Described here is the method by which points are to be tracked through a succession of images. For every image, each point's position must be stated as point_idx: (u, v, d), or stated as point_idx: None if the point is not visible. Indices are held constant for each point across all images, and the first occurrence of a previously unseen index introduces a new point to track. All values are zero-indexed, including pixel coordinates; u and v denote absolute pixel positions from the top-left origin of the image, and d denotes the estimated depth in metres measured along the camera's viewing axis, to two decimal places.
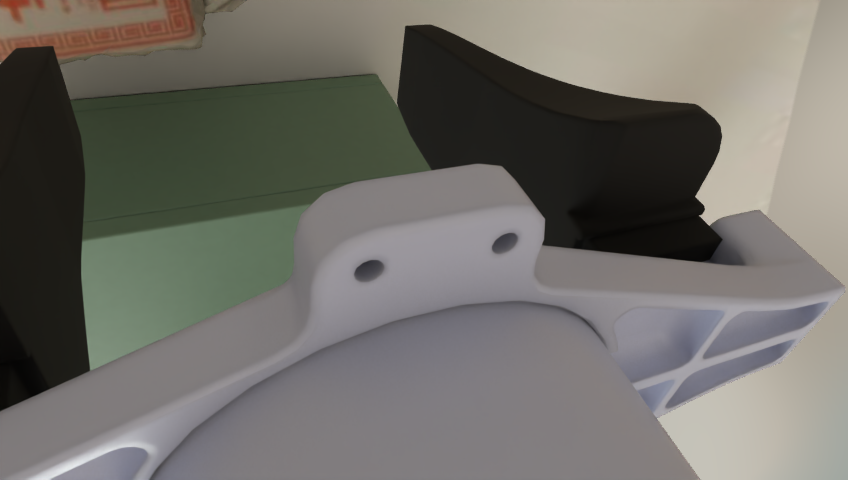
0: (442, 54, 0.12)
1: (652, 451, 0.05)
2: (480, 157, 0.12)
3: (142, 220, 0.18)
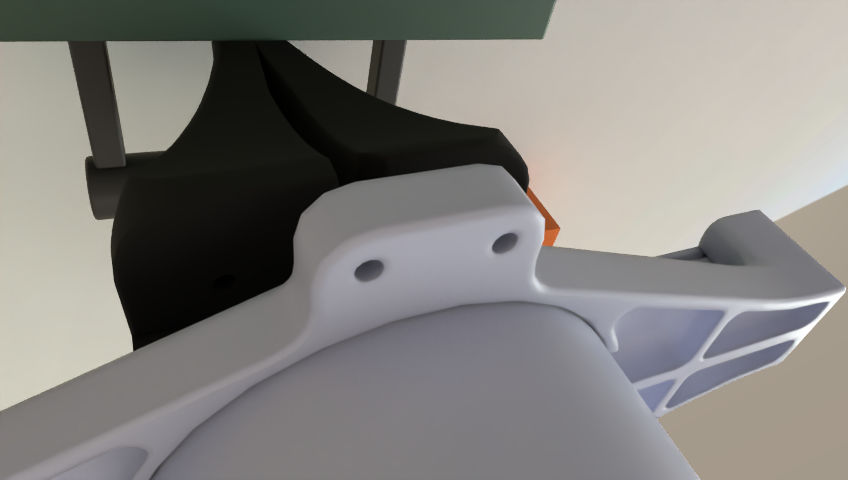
0: (268, 67, 0.11)
1: (652, 451, 0.05)
2: None
3: None
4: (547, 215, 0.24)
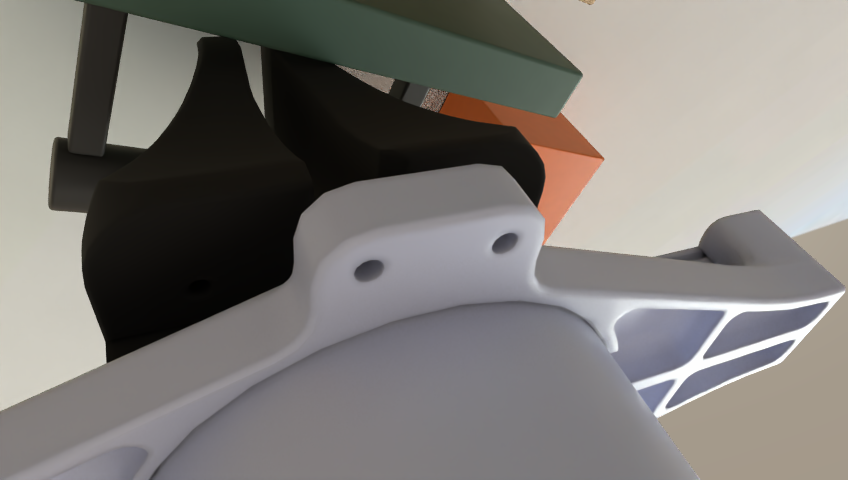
0: (283, 66, 0.11)
1: (652, 451, 0.05)
2: (318, 180, 0.11)
3: None
4: (589, 144, 0.21)
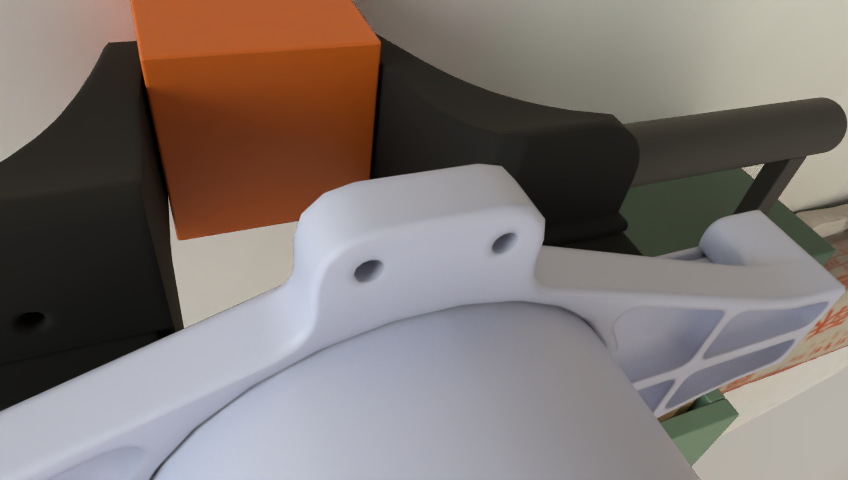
0: None
1: (652, 451, 0.05)
2: (404, 168, 0.11)
3: None
4: None
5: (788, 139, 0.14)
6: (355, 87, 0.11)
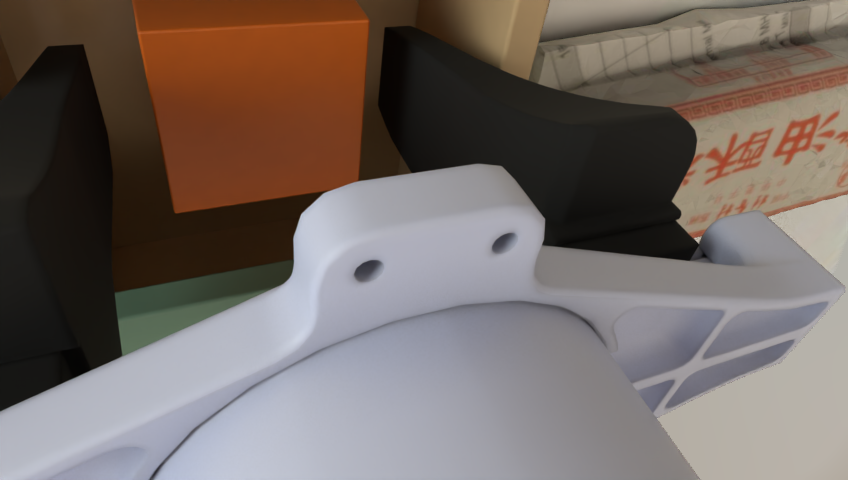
0: (419, 56, 0.12)
1: (652, 451, 0.05)
2: (456, 160, 0.12)
3: None
4: None
5: None
6: (345, 64, 0.12)
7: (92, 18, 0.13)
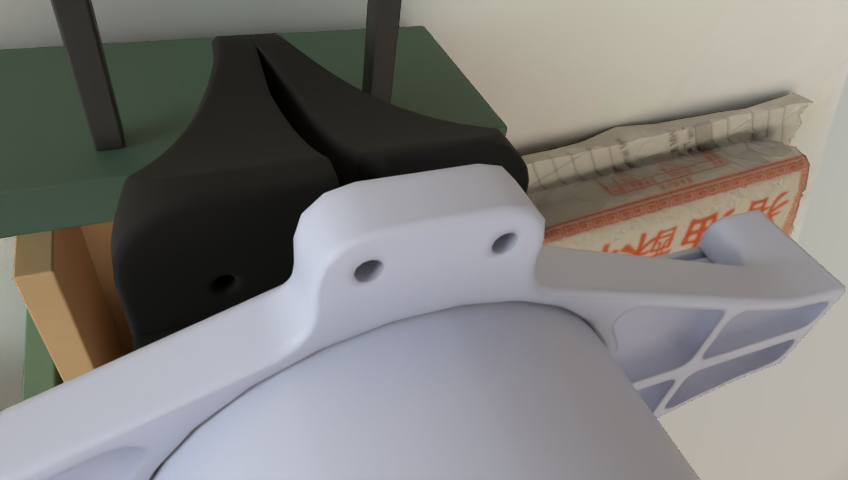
0: (269, 67, 0.11)
1: (652, 451, 0.05)
2: None
3: None
4: None
5: None
6: None
7: None
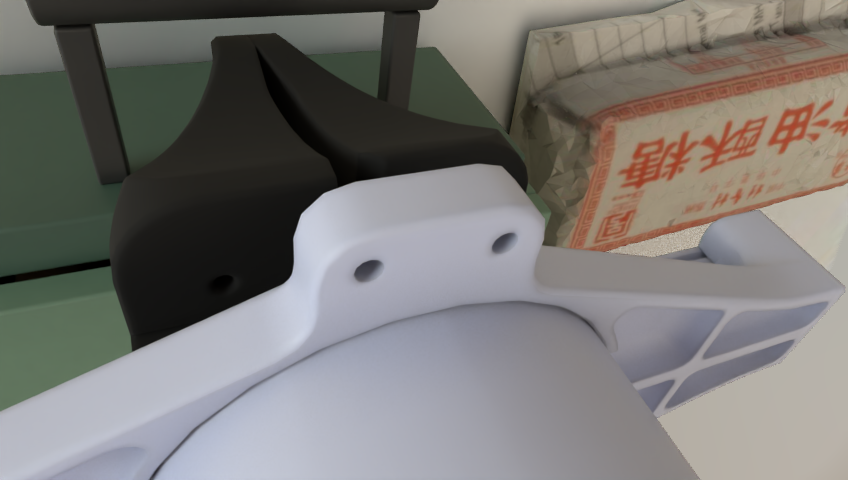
0: (268, 67, 0.11)
1: (652, 451, 0.05)
2: None
3: None
4: None
5: None
6: None
7: None
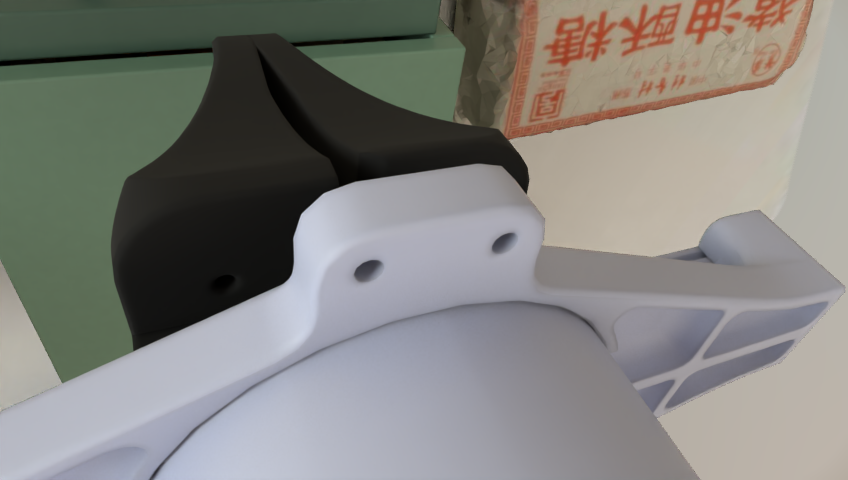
0: (268, 67, 0.11)
1: (652, 451, 0.05)
2: None
3: None
4: None
5: None
6: None
7: None
